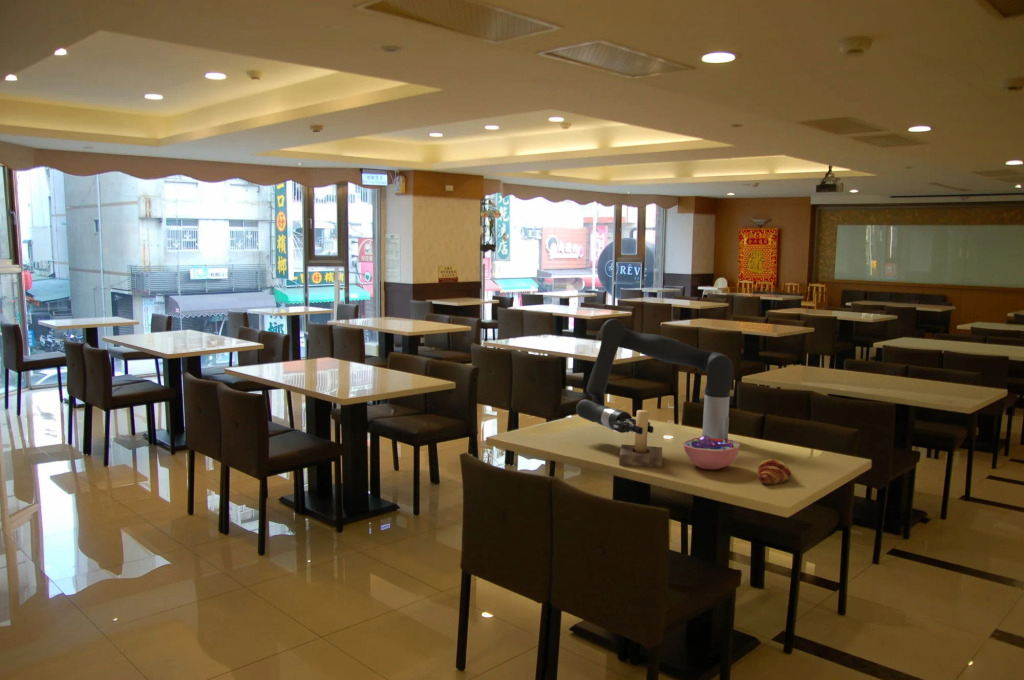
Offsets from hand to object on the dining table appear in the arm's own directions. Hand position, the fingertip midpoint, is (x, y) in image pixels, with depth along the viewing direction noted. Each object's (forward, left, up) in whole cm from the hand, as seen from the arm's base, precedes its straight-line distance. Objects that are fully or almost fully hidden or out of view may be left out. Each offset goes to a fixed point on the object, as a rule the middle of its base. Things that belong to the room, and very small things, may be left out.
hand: (647, 430), depth 256 cm
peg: (+2, -2, -8) cm, 8 cm away
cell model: (-21, 0, -11) cm, 24 cm away
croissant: (-41, +8, -12) cm, 43 cm away
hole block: (+2, -2, -11) cm, 11 cm away
